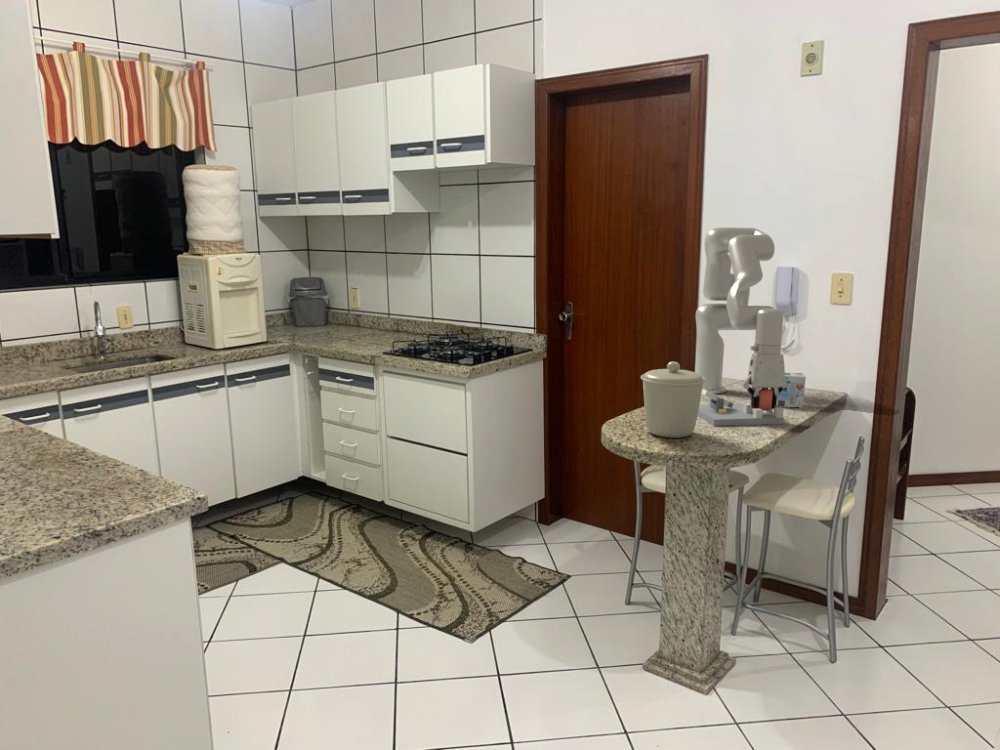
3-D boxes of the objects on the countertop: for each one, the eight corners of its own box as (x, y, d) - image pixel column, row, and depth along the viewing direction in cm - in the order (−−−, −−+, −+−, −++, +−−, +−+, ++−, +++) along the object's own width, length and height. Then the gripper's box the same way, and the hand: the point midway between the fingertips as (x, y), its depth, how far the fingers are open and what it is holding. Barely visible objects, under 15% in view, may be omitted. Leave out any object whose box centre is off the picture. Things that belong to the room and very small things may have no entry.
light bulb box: (769, 406, 255) (772, 374, 253) (767, 402, 262) (770, 371, 260) (803, 408, 253) (806, 376, 251) (801, 404, 259) (803, 372, 257)
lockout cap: (759, 410, 233) (761, 388, 232) (752, 407, 238) (753, 385, 236) (774, 410, 234) (776, 388, 232) (767, 406, 238) (768, 385, 237)
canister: (709, 430, 225) (714, 360, 221) (691, 445, 209) (695, 369, 205) (650, 422, 234) (653, 354, 230) (629, 436, 218) (631, 363, 214)
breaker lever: (700, 393, 243) (703, 388, 242) (726, 405, 245) (729, 401, 244) (705, 395, 239) (707, 390, 239) (731, 408, 241) (734, 403, 241)
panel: (690, 411, 248) (691, 392, 247) (754, 409, 251) (756, 391, 250) (713, 426, 230) (715, 406, 229) (783, 424, 233) (784, 404, 232)
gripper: (746, 352, 227) (742, 411, 231) (800, 351, 230) (795, 410, 233) (735, 348, 235) (731, 406, 238) (787, 347, 237) (783, 404, 240)
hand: (763, 407), depth 236 cm, fingers closed on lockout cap, 4 cm apart
